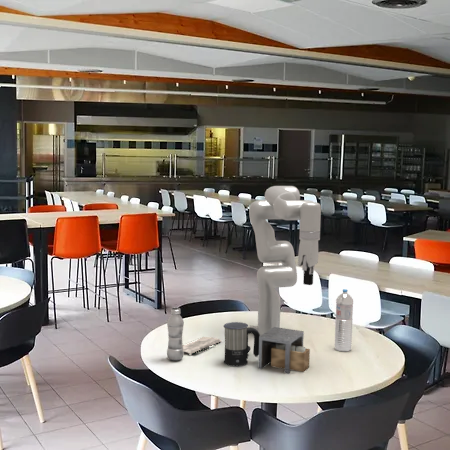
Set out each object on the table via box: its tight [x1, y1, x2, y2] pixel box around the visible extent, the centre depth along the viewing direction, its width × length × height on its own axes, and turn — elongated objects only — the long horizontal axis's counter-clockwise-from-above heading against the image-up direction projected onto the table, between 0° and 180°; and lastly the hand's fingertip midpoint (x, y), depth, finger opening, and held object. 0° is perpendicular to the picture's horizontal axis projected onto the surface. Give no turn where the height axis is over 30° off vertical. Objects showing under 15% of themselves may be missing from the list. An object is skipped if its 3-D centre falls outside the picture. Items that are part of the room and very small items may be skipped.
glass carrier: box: [270, 343, 311, 373], centre depth 237 cm, size 13×6×8 cm, turn 65°
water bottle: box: [334, 289, 354, 352], centre depth 258 cm, size 7×7×25 cm
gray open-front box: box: [257, 327, 305, 375], centre depth 238 cm, size 12×15×12 cm
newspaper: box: [183, 336, 222, 355], centre depth 260 cm, size 23×12×2 cm, turn 146°
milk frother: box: [223, 321, 260, 367], centre depth 244 cm, size 14×16×15 cm
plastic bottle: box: [166, 307, 185, 361], centre depth 242 cm, size 6×7×20 cm
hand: (308, 284), depth 236 cm, fingers closed
